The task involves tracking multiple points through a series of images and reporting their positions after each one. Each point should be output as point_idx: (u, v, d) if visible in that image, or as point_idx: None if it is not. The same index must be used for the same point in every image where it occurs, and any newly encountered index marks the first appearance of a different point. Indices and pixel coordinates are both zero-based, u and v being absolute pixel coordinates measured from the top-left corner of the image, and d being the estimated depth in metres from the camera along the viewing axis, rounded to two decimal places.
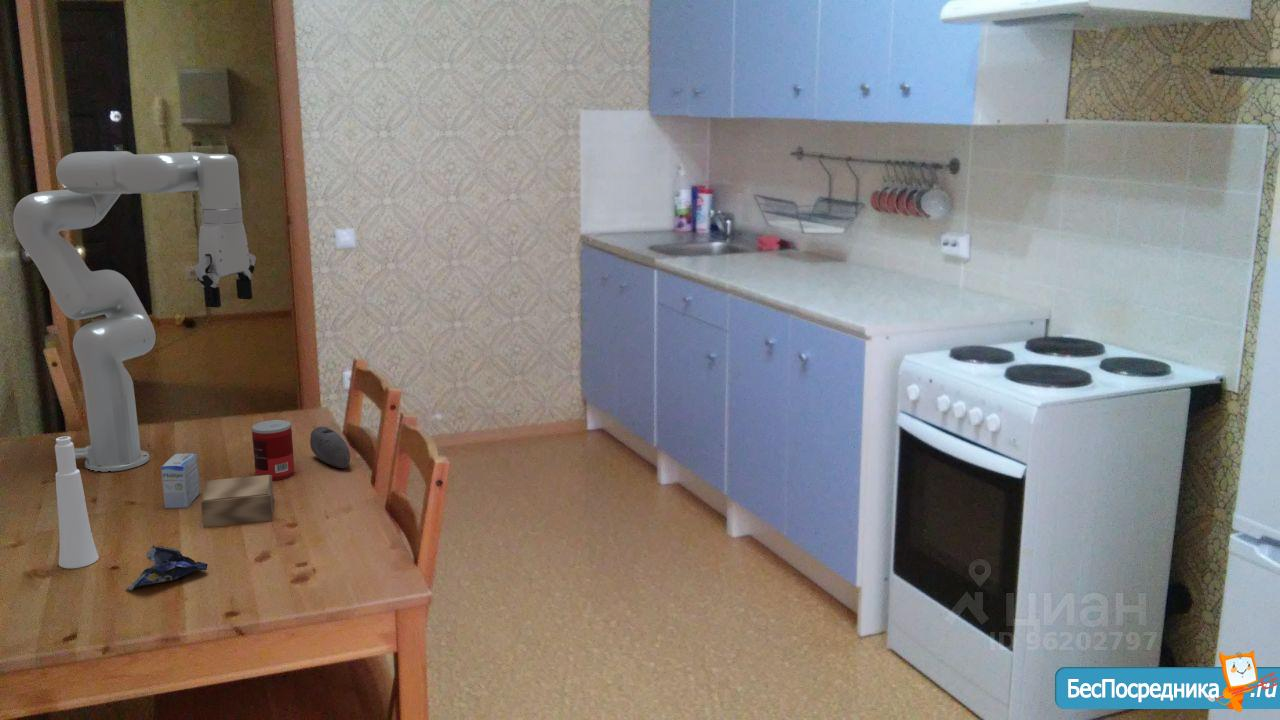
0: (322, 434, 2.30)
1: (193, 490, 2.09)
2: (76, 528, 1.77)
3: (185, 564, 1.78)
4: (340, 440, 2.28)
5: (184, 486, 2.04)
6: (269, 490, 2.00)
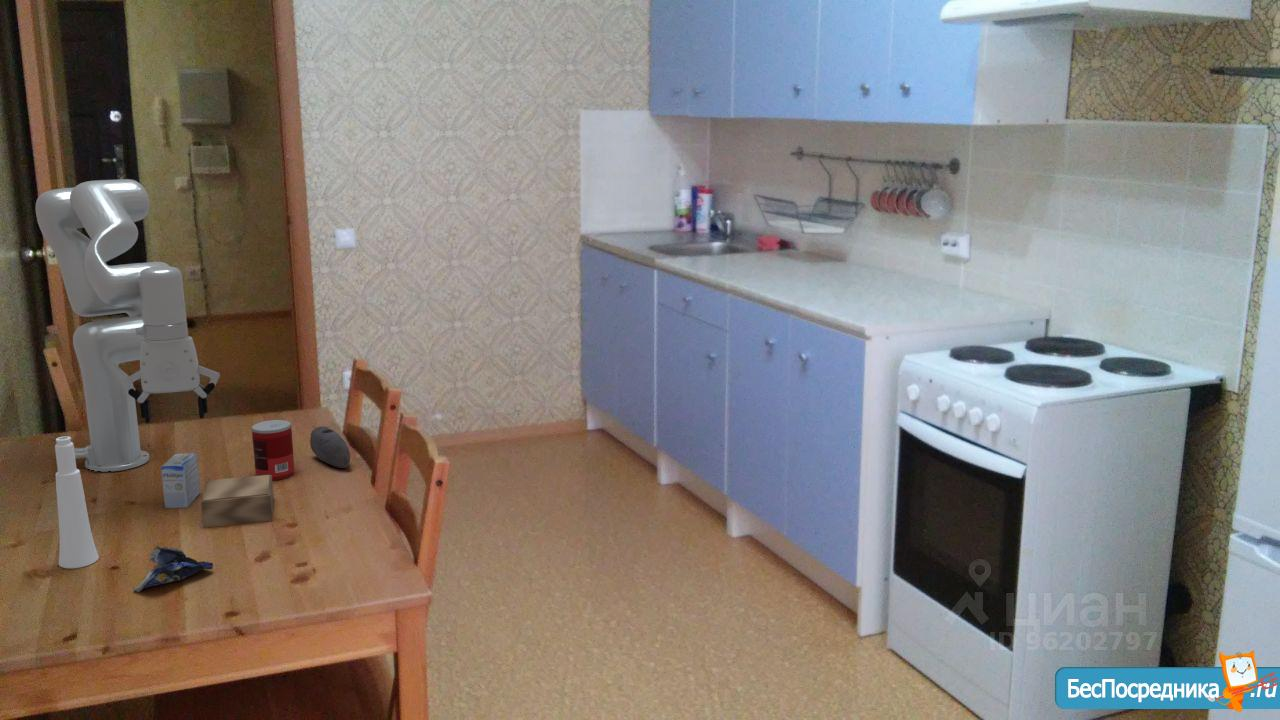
0: (322, 434, 2.30)
1: (193, 490, 2.09)
2: (76, 528, 1.77)
3: (188, 564, 1.78)
4: (340, 440, 2.28)
5: (184, 486, 2.04)
6: (269, 490, 2.00)
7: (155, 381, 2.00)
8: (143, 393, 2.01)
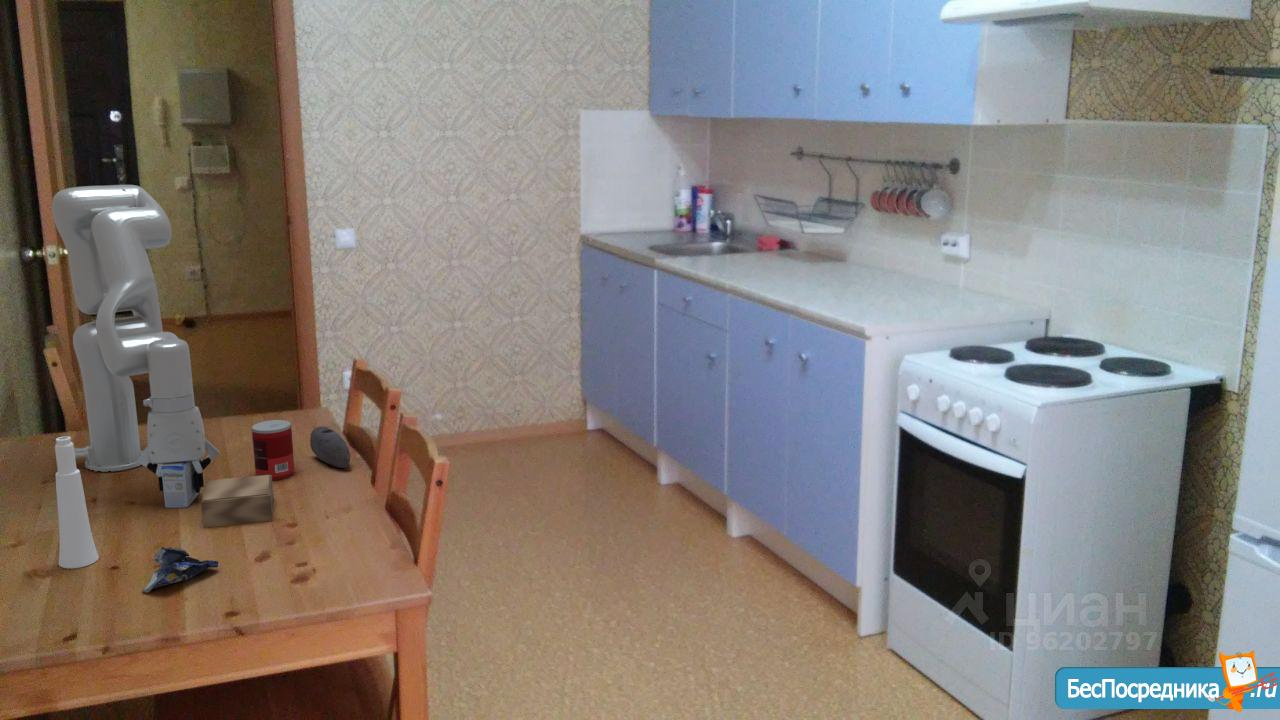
0: (322, 434, 2.30)
1: (193, 490, 2.09)
2: (76, 528, 1.77)
3: (191, 564, 1.78)
4: (340, 440, 2.28)
5: (184, 486, 2.04)
6: (269, 490, 2.00)
7: (162, 452, 2.03)
8: (158, 467, 2.05)
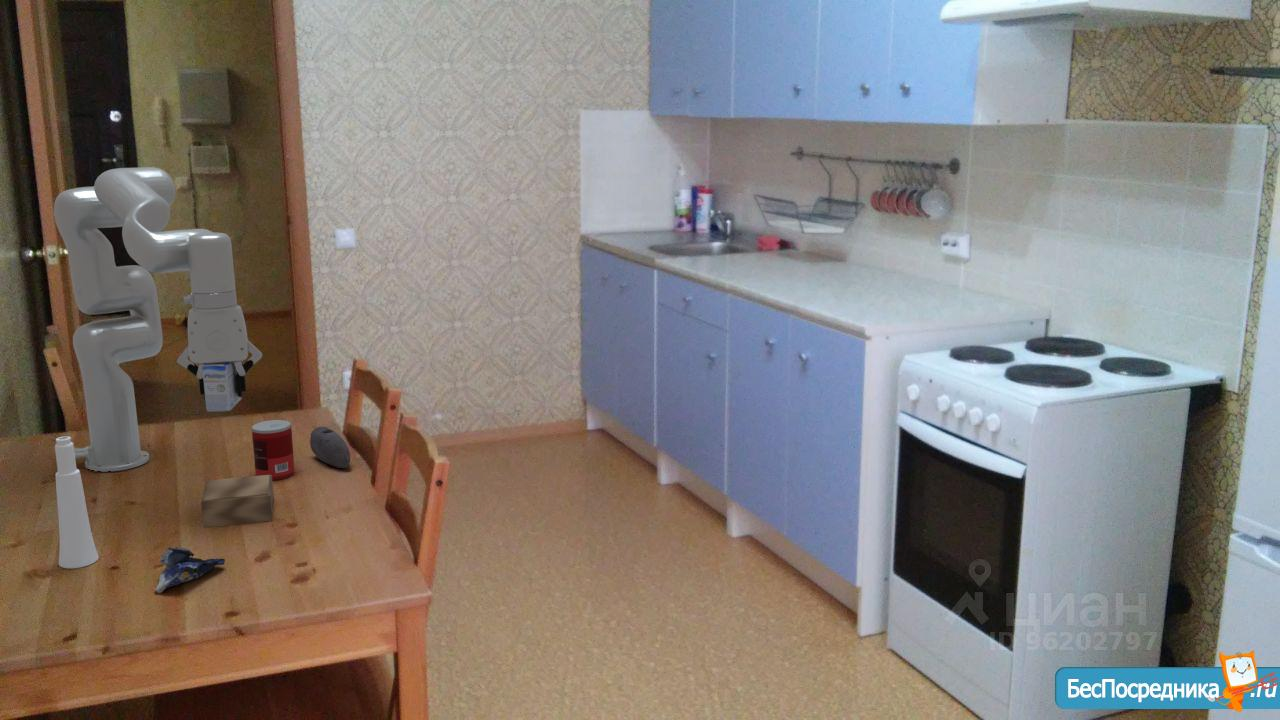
0: (322, 434, 2.30)
1: (235, 394, 1.98)
2: (76, 528, 1.77)
3: (195, 563, 1.78)
4: (340, 440, 2.28)
5: (226, 387, 1.94)
6: (269, 490, 2.00)
7: (203, 351, 1.93)
8: (199, 368, 1.94)
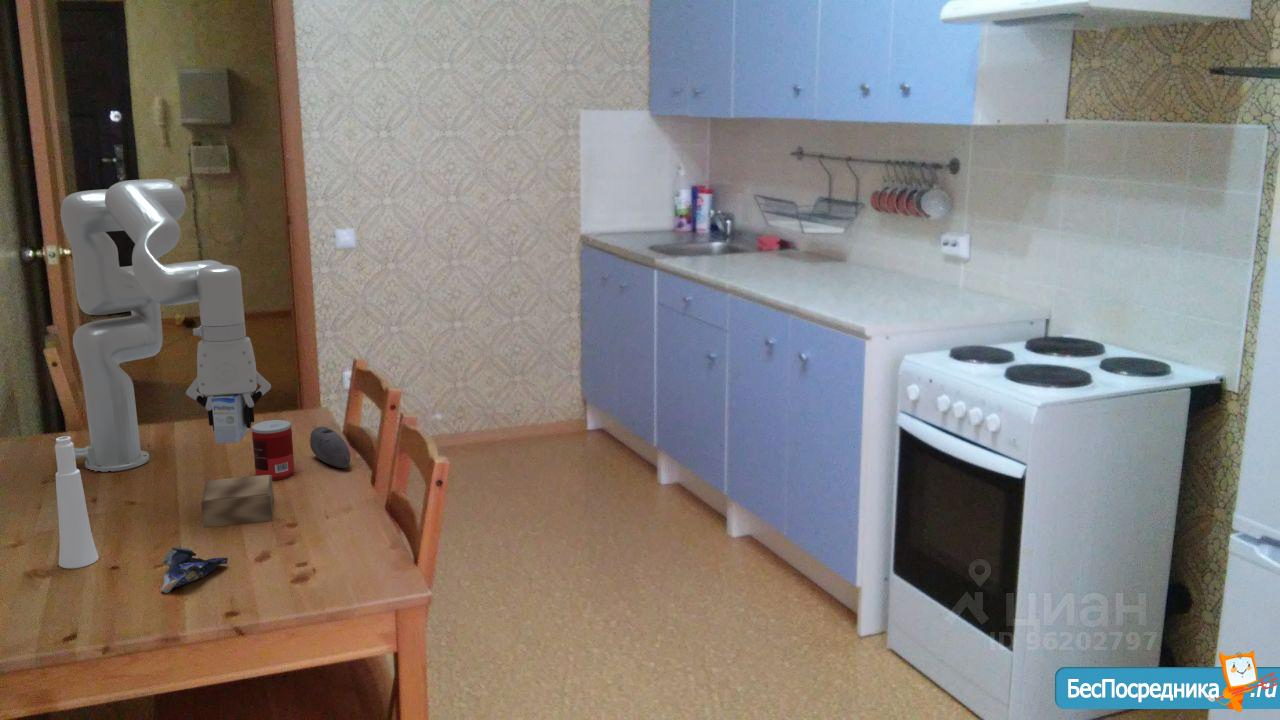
0: (322, 434, 2.30)
1: (244, 425, 1.99)
2: (76, 528, 1.77)
3: (197, 563, 1.79)
4: (340, 440, 2.28)
5: (236, 419, 1.95)
6: (269, 490, 2.00)
7: (212, 383, 1.93)
8: (208, 400, 1.95)
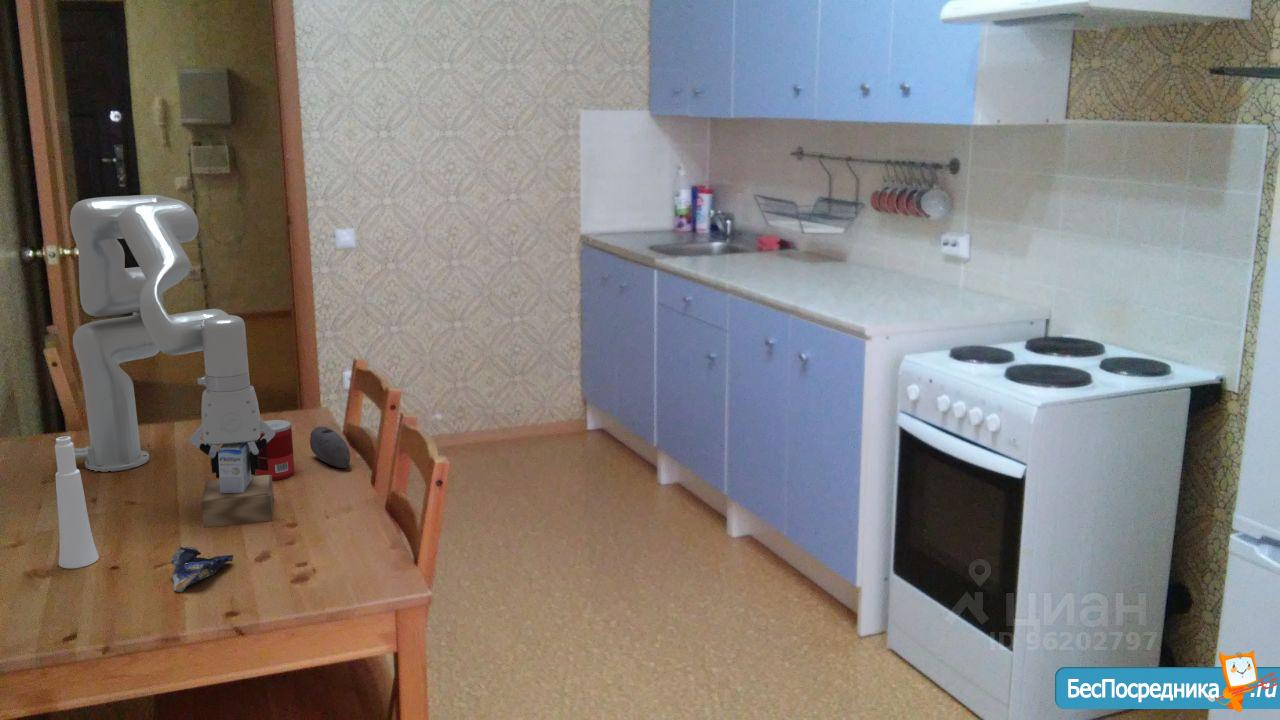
0: (322, 434, 2.30)
1: (248, 475, 2.02)
2: (76, 528, 1.77)
3: (201, 562, 1.79)
4: (340, 440, 2.28)
5: (241, 470, 1.97)
6: (269, 490, 2.00)
7: (217, 432, 1.96)
8: (211, 448, 1.97)
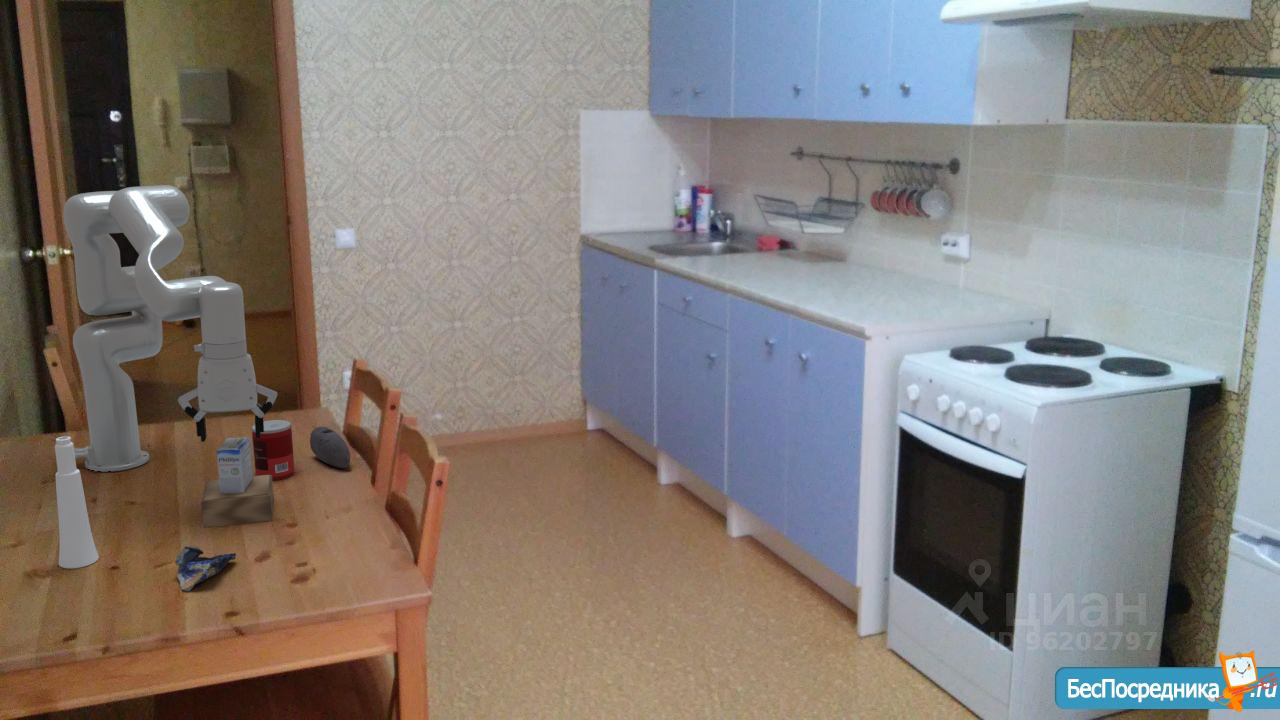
0: (322, 434, 2.30)
1: (248, 475, 2.02)
2: (76, 528, 1.77)
3: (203, 561, 1.79)
4: (340, 440, 2.28)
5: (241, 471, 1.97)
6: (269, 490, 2.00)
7: (213, 400, 1.94)
8: (200, 411, 1.96)
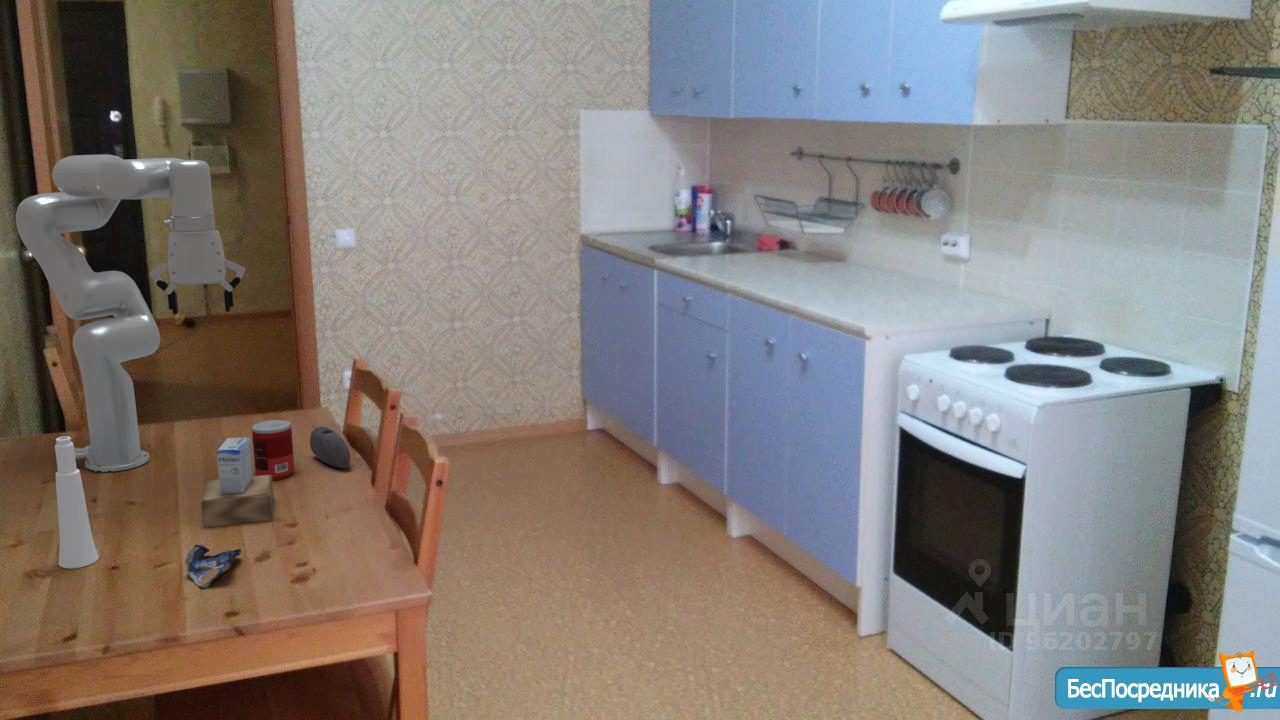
0: (322, 434, 2.30)
1: (248, 475, 2.02)
2: (76, 528, 1.77)
3: (208, 559, 1.80)
4: (340, 440, 2.28)
5: (241, 471, 1.97)
6: (269, 490, 2.00)
7: (183, 272, 2.04)
8: (171, 284, 2.05)
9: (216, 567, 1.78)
